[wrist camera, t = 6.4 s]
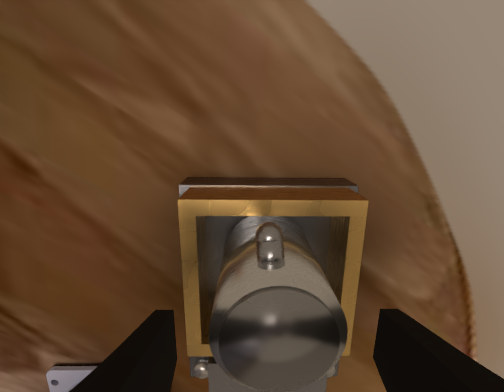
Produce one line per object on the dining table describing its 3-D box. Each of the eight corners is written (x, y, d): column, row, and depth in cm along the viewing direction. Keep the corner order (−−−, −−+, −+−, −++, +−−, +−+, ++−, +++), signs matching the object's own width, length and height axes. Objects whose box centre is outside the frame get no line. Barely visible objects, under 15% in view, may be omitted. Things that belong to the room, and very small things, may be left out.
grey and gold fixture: (327, 349, 19) (351, 418, 14) (196, 350, 19) (181, 419, 14) (344, 178, 16) (381, 199, 11) (187, 177, 16) (163, 198, 11)
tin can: (309, 285, 15) (351, 394, 9) (229, 293, 15) (216, 405, 9) (305, 182, 14) (351, 229, 8) (215, 190, 14) (190, 244, 8)
